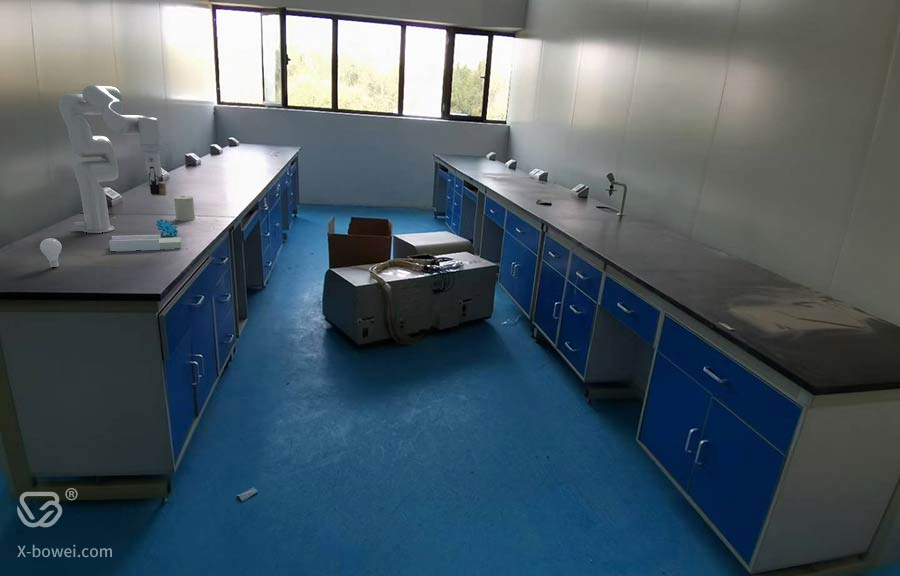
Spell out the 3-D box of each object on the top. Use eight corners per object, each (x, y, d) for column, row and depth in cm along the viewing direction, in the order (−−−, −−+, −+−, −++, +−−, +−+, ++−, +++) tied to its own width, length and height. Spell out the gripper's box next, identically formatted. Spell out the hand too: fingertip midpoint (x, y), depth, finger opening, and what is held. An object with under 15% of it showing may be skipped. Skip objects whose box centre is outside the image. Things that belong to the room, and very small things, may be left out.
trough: (110, 251, 220) (108, 241, 218) (113, 246, 227) (112, 236, 226) (181, 248, 230) (180, 238, 228) (181, 243, 237) (180, 233, 236)
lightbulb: (49, 271, 193) (43, 241, 189) (40, 267, 196) (35, 238, 192) (68, 267, 198) (63, 238, 194) (60, 264, 201) (55, 235, 197)
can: (194, 217, 289) (192, 194, 285) (196, 220, 281) (194, 197, 277) (175, 217, 284) (172, 195, 280) (176, 221, 277) (174, 198, 273)
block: (152, 195, 224) (150, 183, 222) (153, 193, 228) (151, 181, 227) (165, 195, 226) (164, 183, 224) (166, 193, 230) (165, 181, 229)
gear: (165, 235, 242) (153, 218, 243) (158, 243, 244) (146, 226, 245) (184, 234, 253) (172, 217, 253) (177, 242, 255) (166, 225, 255)
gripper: (159, 151, 215) (164, 196, 221) (162, 146, 229) (167, 189, 235) (138, 150, 212) (143, 196, 218) (142, 146, 226) (147, 189, 232)
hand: (155, 192), depth 226 cm, fingers closed on block, 4 cm apart
